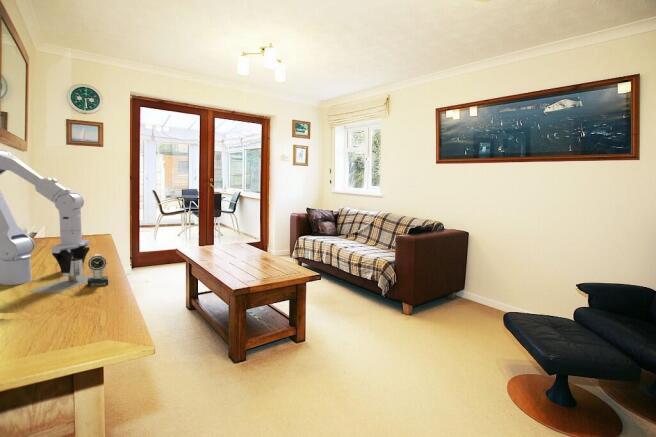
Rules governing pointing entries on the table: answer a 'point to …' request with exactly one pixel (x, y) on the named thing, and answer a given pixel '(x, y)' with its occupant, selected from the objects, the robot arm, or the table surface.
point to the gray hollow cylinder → (75, 267)
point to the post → (72, 278)
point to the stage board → (62, 285)
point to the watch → (97, 270)
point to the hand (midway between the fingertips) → (72, 270)
